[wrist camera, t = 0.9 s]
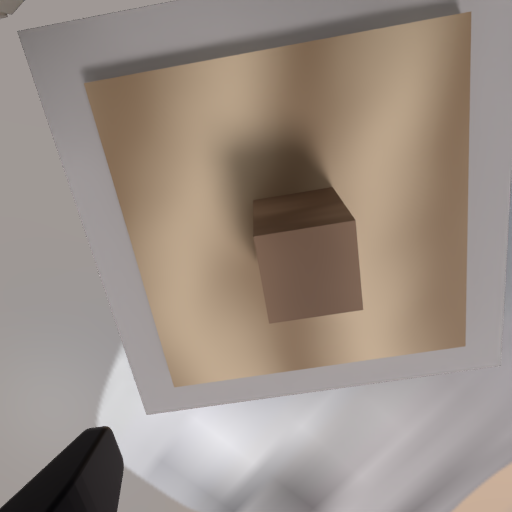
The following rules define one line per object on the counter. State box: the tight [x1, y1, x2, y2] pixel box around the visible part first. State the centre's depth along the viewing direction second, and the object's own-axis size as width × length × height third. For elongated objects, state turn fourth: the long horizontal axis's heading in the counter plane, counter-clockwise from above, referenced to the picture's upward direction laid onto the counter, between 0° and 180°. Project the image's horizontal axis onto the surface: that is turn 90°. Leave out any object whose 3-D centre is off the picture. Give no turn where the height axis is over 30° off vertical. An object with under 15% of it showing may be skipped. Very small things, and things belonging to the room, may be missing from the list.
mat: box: [18, 0, 512, 415], centre depth 18 cm, size 17×17×1 cm
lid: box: [84, 12, 471, 387], centre depth 16 cm, size 13×13×5 cm
